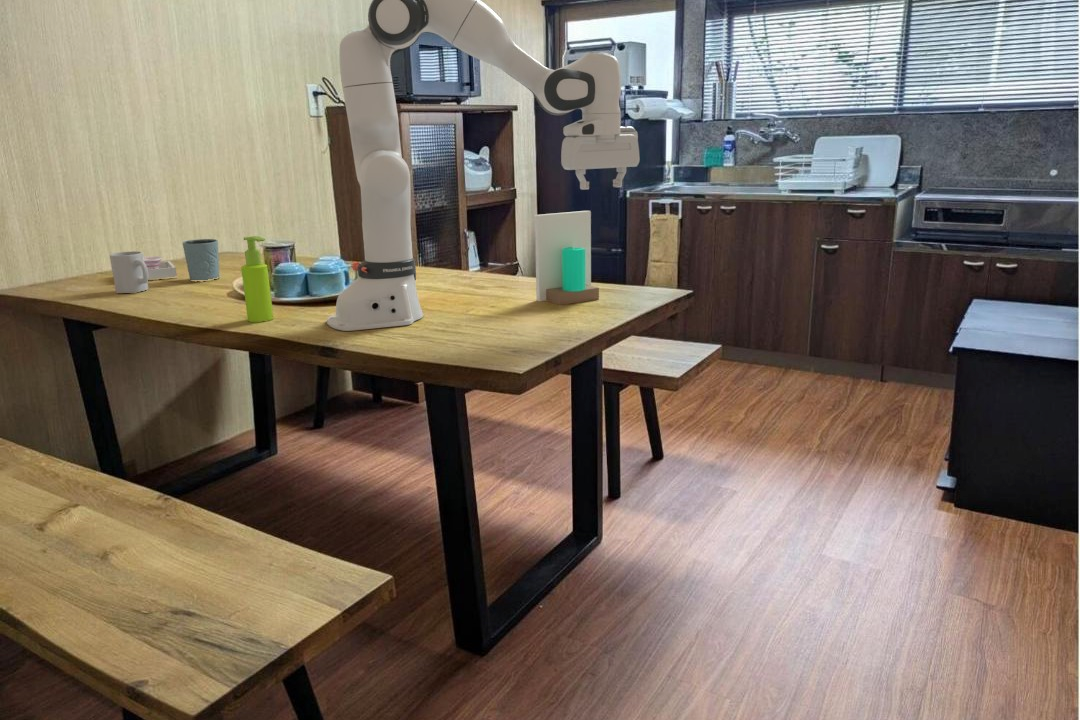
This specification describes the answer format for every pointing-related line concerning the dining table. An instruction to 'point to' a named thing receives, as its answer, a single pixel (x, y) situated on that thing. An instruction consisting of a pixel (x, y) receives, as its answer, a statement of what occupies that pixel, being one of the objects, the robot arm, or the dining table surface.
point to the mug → (129, 272)
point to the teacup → (152, 262)
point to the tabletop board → (549, 243)
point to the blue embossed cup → (202, 258)
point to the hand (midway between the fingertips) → (601, 188)
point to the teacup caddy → (163, 271)
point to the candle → (573, 268)
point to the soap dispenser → (256, 284)
